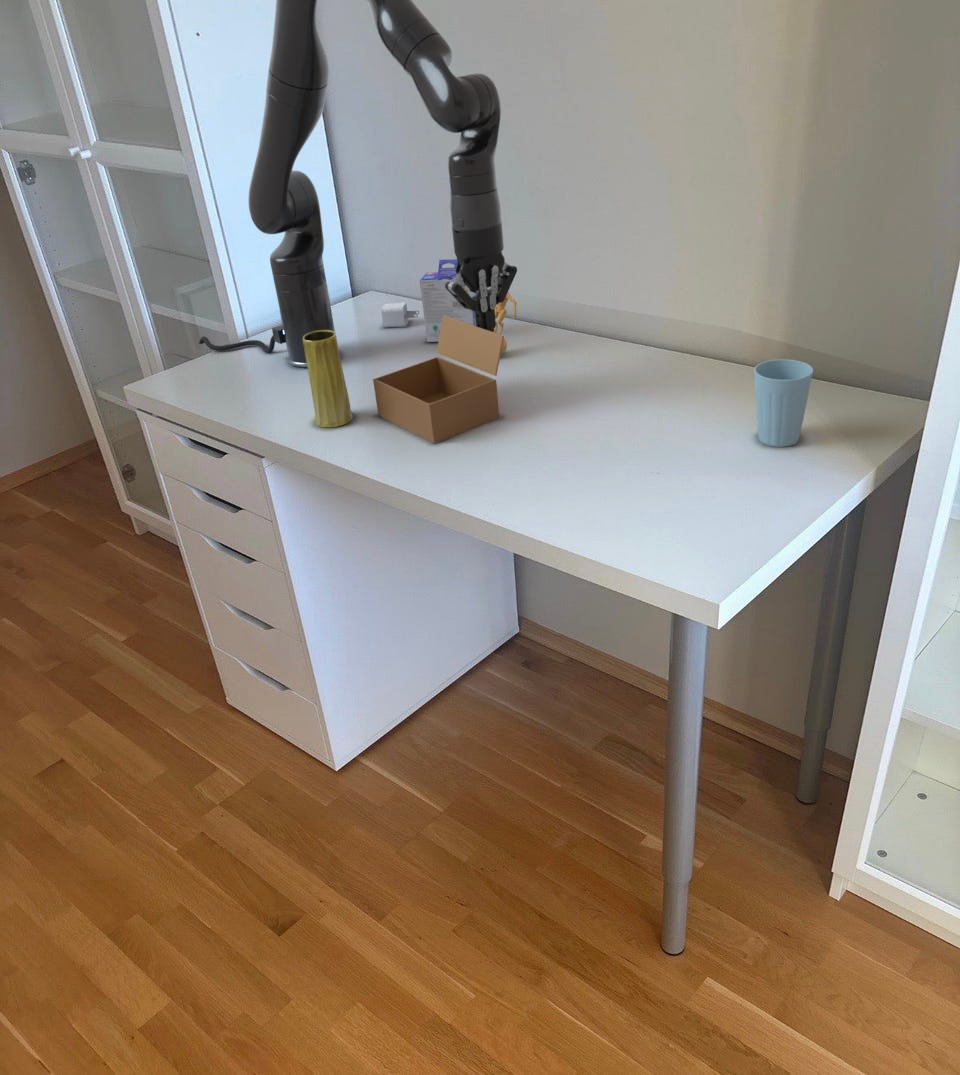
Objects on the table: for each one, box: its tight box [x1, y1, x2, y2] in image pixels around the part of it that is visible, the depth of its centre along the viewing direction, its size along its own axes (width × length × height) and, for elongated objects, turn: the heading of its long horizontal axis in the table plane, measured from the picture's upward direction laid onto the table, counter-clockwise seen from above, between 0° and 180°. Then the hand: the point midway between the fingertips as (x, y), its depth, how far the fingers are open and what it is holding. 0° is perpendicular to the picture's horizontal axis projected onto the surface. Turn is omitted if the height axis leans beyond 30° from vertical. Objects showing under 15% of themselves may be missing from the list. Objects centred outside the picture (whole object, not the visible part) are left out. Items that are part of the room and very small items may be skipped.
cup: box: [753, 358, 814, 448], centre depth 137 cm, size 8×8×10 cm
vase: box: [303, 330, 354, 428], centre depth 156 cm, size 6×6×14 cm
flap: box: [436, 316, 505, 377], centre depth 156 cm, size 16×6×1 cm
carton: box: [372, 356, 500, 445], centre depth 156 cm, size 16×13×6 cm
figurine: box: [494, 291, 517, 357], centre depth 176 cm, size 8×6×12 cm
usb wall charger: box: [381, 302, 420, 329], centre depth 198 cm, size 4×7×4 cm, turn 84°
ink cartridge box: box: [419, 258, 476, 343], centre depth 185 cm, size 10×6×14 cm, turn 79°
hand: (486, 332), depth 157 cm, fingers closed
